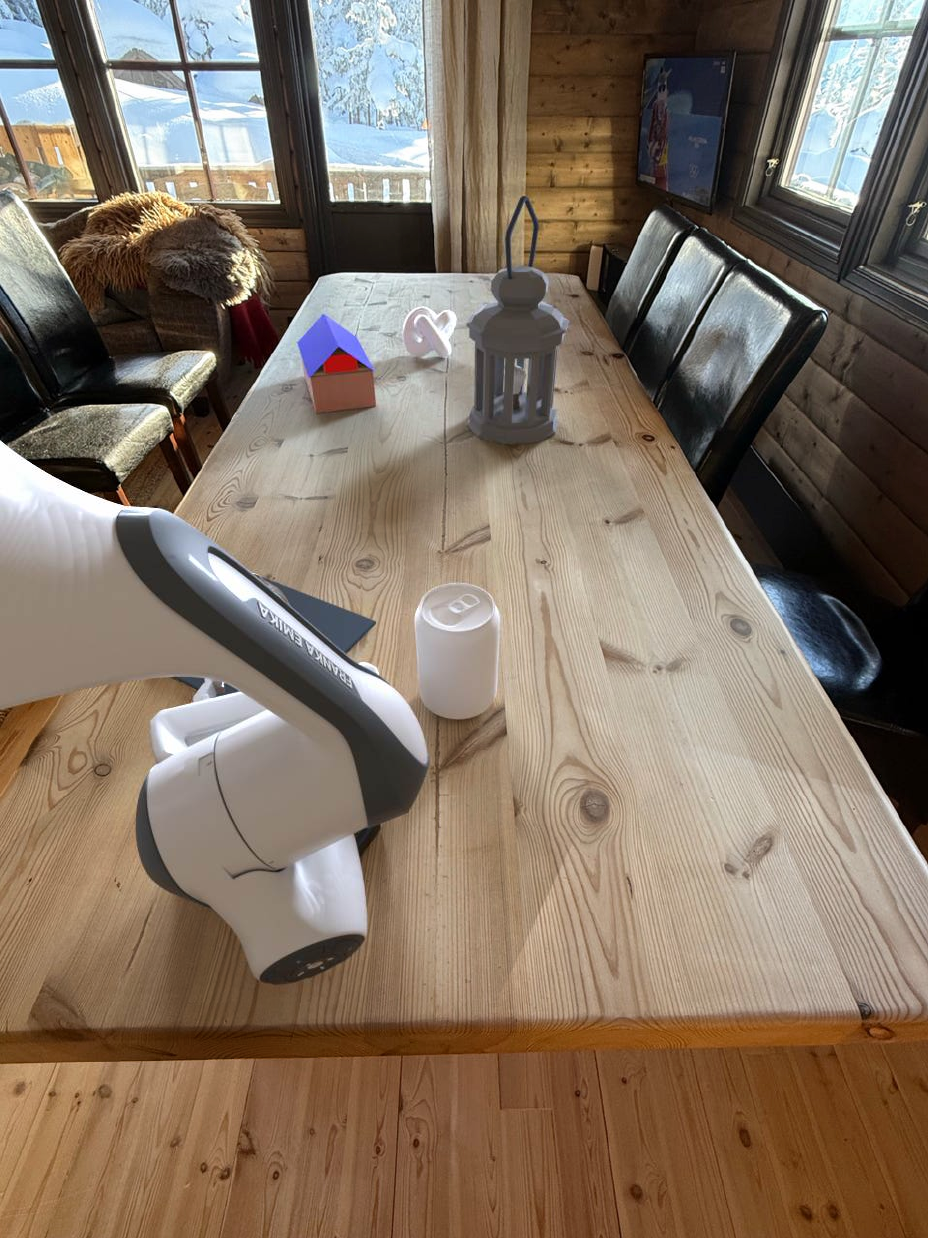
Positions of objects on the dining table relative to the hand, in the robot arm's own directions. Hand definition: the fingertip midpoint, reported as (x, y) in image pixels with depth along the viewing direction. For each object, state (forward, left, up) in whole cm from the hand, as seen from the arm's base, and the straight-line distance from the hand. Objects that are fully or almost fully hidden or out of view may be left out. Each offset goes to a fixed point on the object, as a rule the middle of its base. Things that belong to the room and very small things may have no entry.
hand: (264, 663), depth 64 cm
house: (+70, +45, -6) cm, 83 cm away
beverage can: (+11, -16, -6) cm, 20 cm away
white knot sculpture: (+96, +39, -6) cm, 103 cm away
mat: (+7, +7, -6) cm, 11 cm away
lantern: (+73, +8, -6) cm, 73 cm away
